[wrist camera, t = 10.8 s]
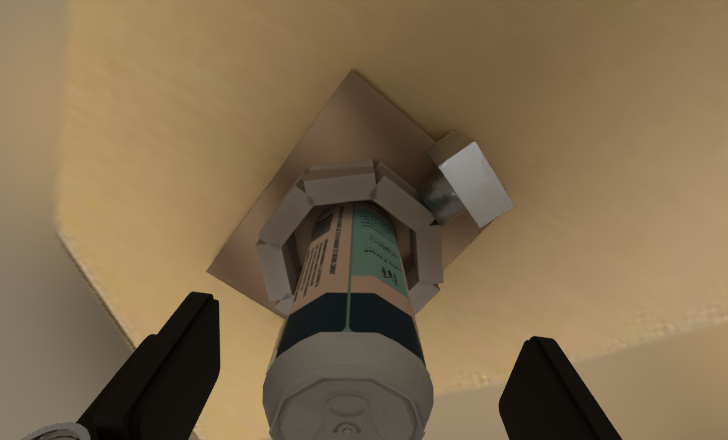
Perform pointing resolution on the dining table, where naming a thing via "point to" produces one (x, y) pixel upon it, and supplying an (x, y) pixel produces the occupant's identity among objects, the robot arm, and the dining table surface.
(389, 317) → the beer can
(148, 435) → the robot arm
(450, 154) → the shaft in
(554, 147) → the dining table surface
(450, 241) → the octagonal gimbal ring stand
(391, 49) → the dining table surface
